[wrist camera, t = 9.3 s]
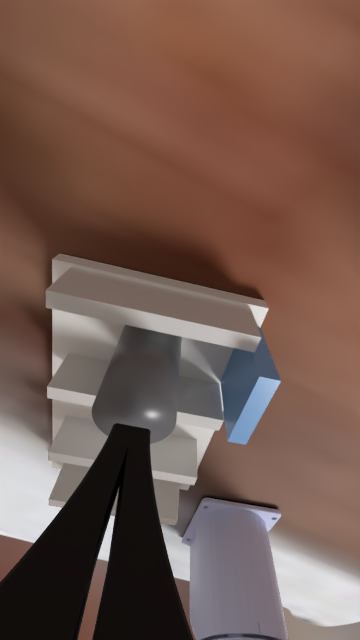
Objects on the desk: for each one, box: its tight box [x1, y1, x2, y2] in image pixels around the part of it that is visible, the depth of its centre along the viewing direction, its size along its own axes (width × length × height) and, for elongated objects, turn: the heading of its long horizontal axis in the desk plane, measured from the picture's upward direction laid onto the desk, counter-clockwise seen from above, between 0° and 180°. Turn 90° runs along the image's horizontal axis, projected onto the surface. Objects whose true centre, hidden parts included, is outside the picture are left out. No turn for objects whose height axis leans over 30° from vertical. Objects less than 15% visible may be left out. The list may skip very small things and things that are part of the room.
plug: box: [92, 325, 182, 444], centre depth 15 cm, size 4×4×6 cm
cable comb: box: [46, 253, 281, 526], centre depth 19 cm, size 19×12×6 cm, turn 167°
